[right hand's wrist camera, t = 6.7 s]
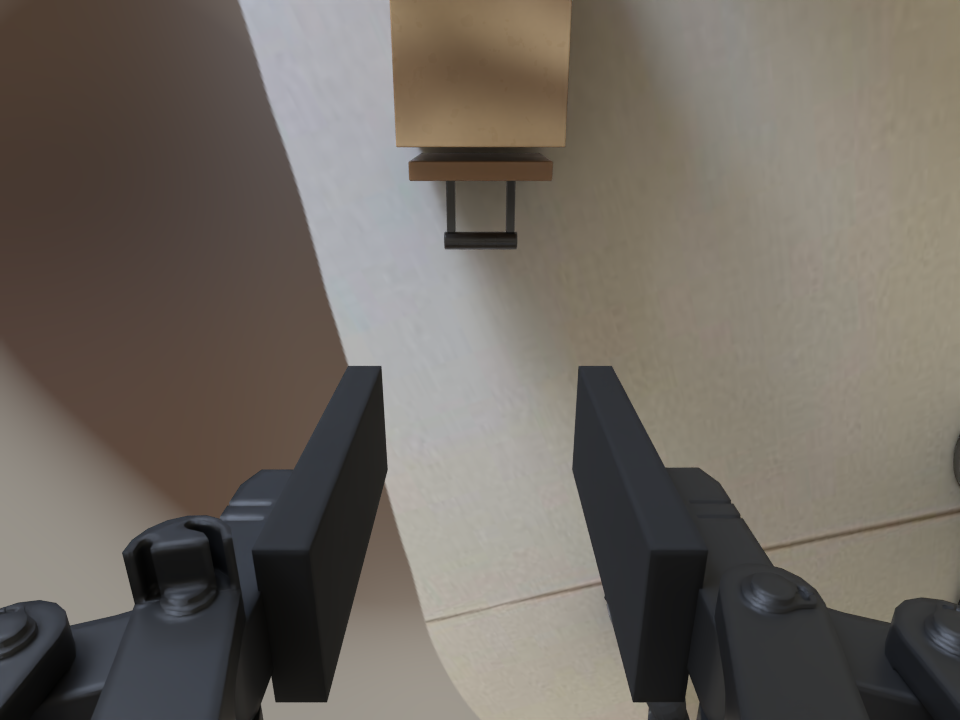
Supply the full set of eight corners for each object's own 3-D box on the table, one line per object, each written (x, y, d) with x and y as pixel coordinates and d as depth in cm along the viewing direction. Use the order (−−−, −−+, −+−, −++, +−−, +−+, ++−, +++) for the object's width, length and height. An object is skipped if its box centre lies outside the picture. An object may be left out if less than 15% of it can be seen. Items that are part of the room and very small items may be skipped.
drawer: (537, 238, 51) (549, 263, 42) (423, 238, 51) (412, 263, 42) (549, -107, 42) (566, -162, 34) (412, -107, 42) (395, -162, 34)
